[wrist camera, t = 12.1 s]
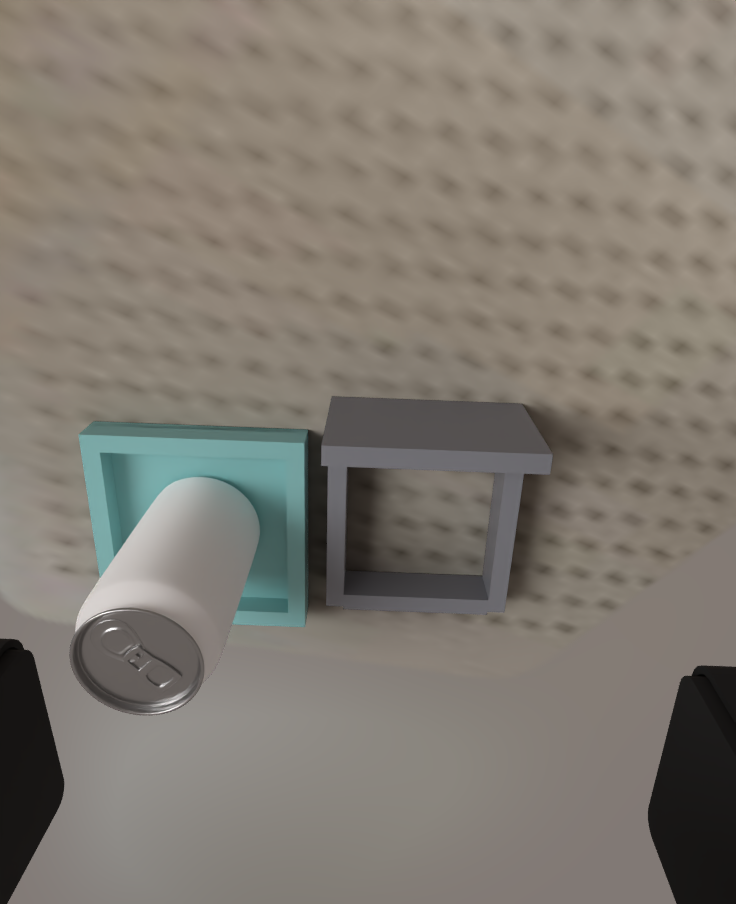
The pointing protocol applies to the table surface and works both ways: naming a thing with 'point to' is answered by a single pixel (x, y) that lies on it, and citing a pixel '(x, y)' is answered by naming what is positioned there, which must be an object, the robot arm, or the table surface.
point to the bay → (429, 448)
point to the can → (167, 599)
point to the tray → (219, 457)
